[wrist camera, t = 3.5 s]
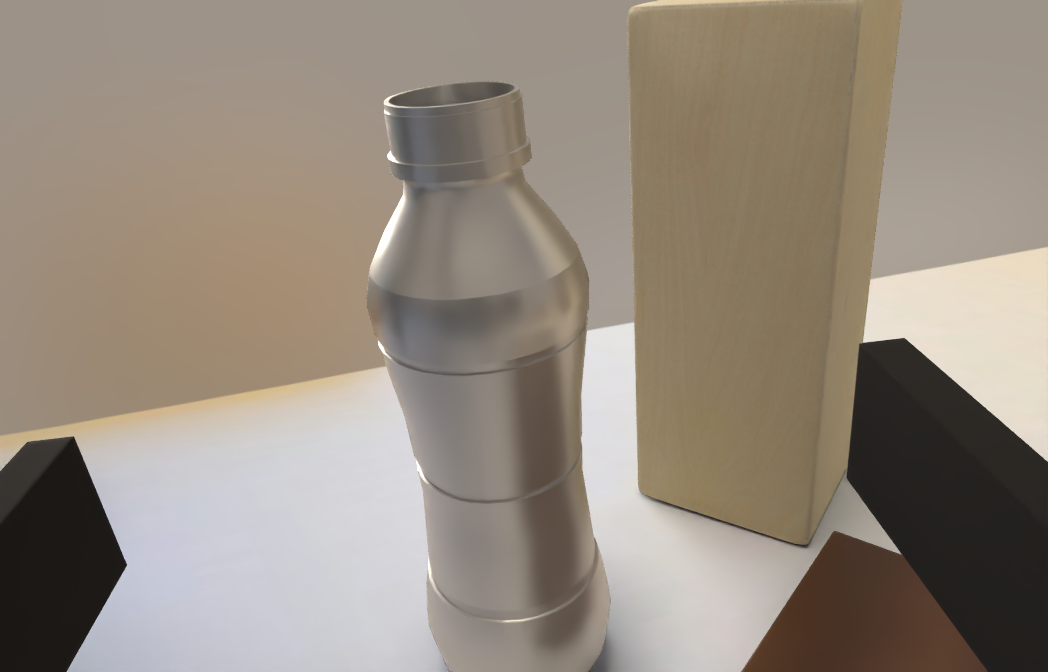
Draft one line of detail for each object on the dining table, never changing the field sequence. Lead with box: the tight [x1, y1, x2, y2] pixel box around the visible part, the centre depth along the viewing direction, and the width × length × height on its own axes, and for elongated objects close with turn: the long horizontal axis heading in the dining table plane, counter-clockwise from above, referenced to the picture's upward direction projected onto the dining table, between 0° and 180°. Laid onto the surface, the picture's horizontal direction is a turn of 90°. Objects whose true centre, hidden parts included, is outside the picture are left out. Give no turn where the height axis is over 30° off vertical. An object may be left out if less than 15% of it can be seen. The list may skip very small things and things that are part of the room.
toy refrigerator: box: [627, 0, 903, 545], centre depth 32 cm, size 8×7×21 cm
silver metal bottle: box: [367, 81, 611, 672], centre depth 25 cm, size 6×7×20 cm
